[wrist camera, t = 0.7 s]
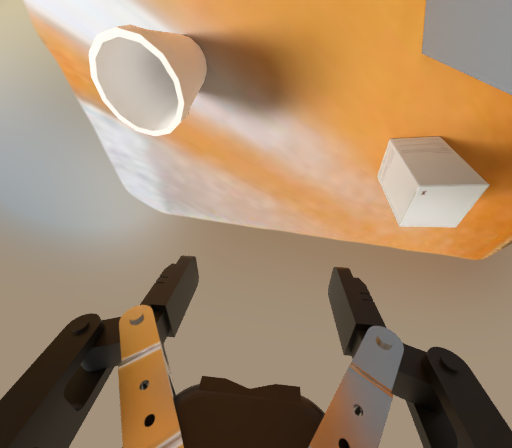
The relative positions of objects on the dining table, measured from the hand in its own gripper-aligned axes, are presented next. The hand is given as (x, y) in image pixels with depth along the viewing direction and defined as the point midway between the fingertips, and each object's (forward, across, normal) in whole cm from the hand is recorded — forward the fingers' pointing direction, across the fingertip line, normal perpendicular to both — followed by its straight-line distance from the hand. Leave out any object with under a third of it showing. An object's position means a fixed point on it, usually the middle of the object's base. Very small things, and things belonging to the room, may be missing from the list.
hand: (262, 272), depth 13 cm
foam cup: (+28, +13, -14) cm, 33 cm away
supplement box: (+29, -22, -1) cm, 37 cm away
